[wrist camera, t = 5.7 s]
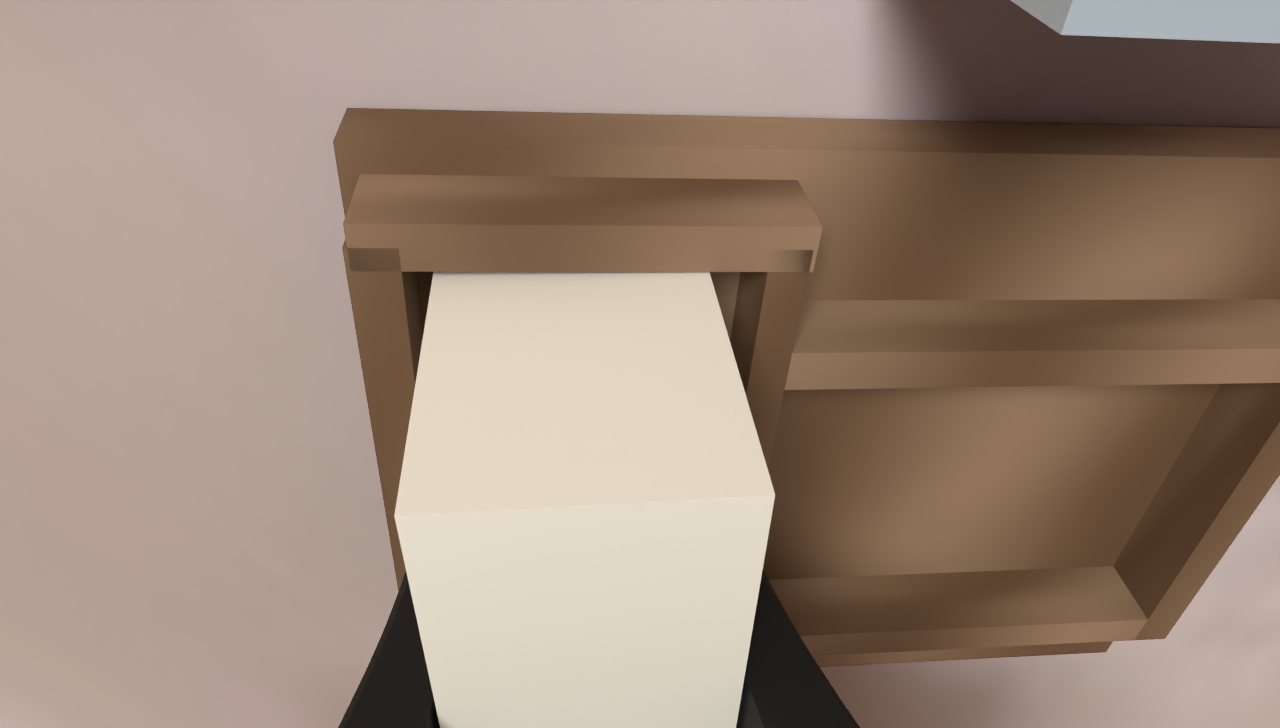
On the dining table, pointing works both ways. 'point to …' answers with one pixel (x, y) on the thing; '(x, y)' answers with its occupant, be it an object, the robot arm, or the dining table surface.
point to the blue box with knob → (1162, 18)
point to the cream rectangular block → (582, 502)
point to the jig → (896, 341)
